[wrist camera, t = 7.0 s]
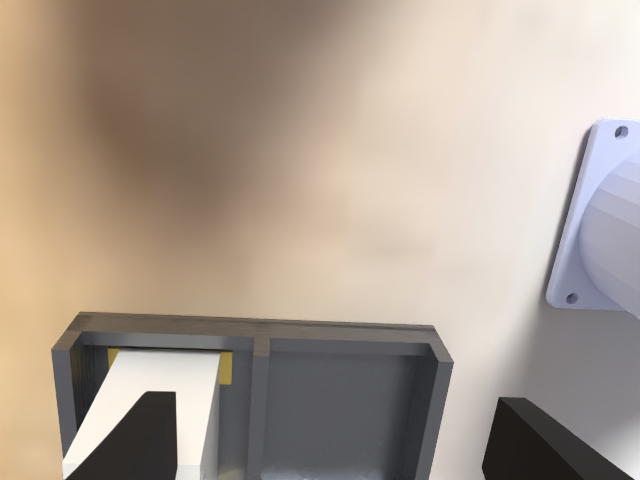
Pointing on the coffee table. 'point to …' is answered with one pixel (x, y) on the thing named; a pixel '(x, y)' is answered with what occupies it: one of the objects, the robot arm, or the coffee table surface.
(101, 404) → the white and grey box
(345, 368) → the rack
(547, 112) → the coffee table surface
